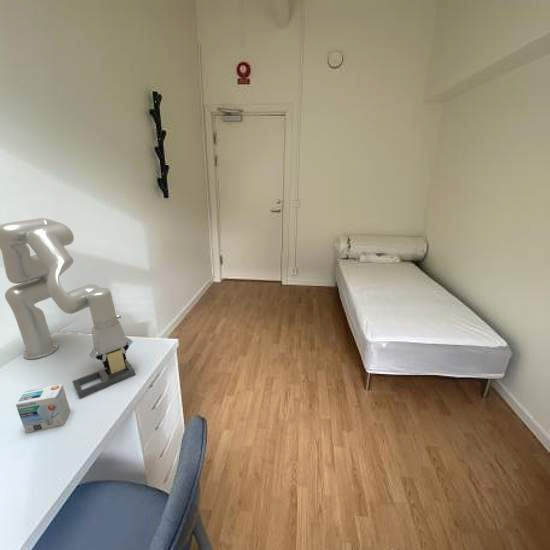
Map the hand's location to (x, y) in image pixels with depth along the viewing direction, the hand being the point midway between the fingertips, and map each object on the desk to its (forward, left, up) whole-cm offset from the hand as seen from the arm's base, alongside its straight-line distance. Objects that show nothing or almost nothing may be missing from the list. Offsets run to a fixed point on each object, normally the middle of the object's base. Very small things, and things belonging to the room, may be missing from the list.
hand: (115, 364), depth 121 cm
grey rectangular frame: (0, -5, -5) cm, 7 cm away
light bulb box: (+9, -24, -5) cm, 26 cm away
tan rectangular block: (0, 0, -1) cm, 1 cm away
